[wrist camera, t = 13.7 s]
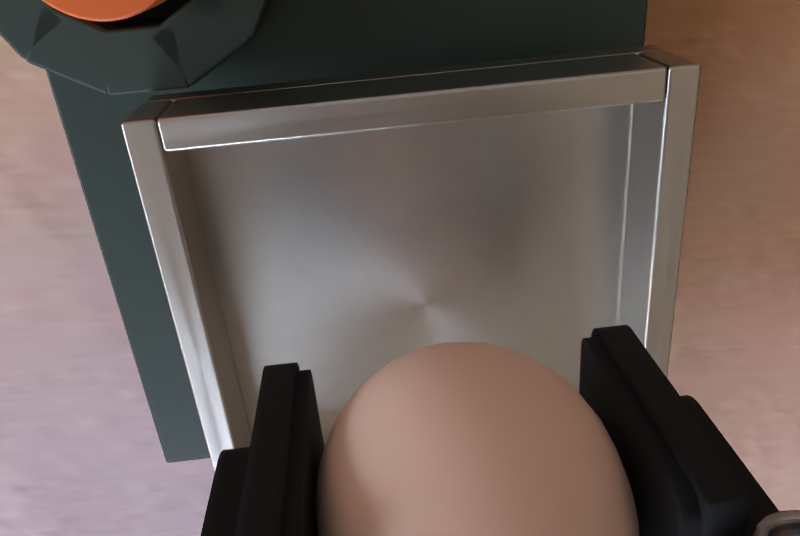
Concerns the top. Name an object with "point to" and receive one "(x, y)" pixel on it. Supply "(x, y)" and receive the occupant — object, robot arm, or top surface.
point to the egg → (471, 452)
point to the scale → (246, 66)
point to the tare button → (103, 8)
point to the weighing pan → (415, 218)
